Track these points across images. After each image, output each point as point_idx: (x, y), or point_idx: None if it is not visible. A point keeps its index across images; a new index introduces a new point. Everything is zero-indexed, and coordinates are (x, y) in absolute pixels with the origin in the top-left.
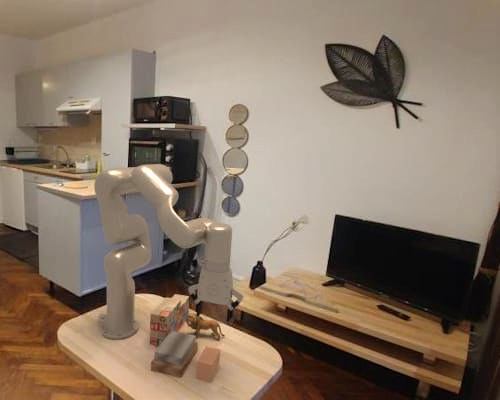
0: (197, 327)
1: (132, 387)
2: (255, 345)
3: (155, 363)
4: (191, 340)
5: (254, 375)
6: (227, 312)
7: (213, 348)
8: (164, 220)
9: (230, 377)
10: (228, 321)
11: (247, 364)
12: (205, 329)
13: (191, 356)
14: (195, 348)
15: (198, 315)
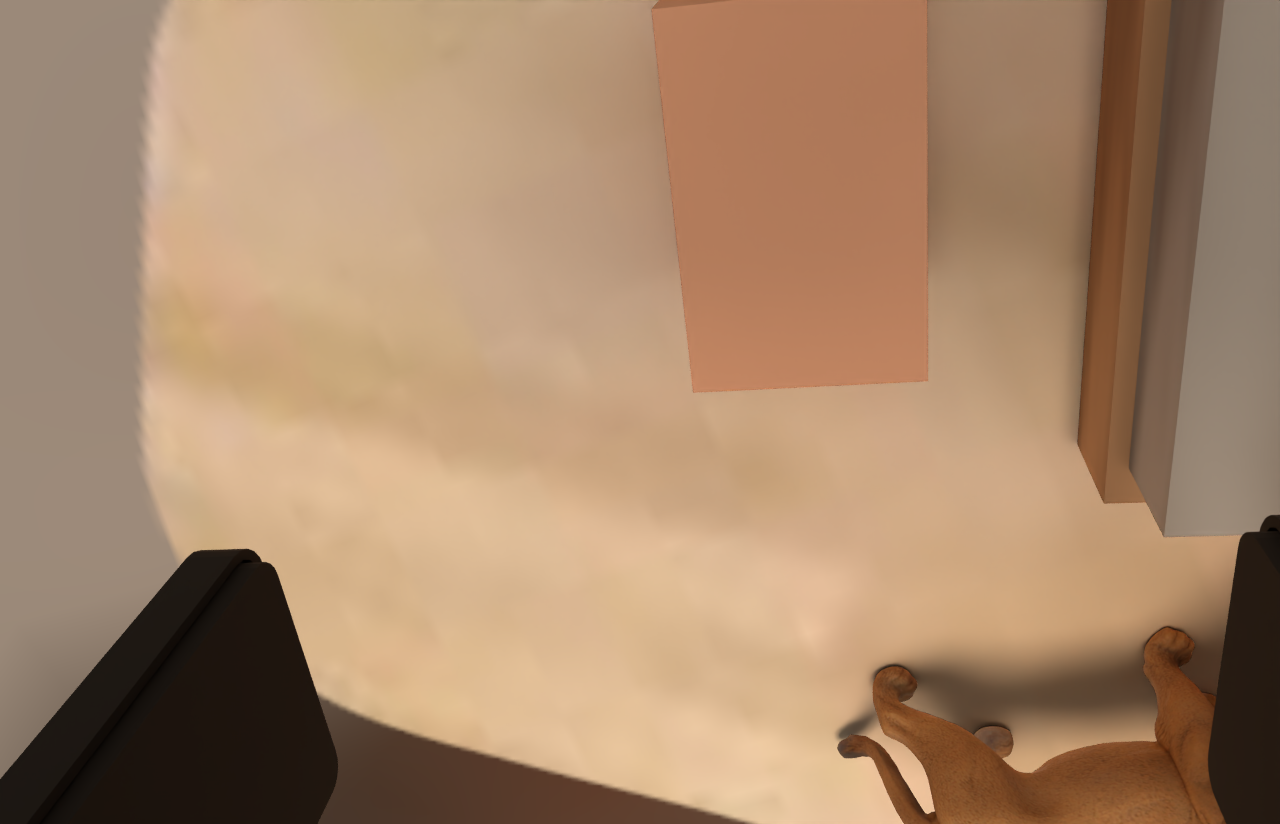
0: (1208, 740)
1: None
2: (478, 709)
3: None
4: (1200, 420)
5: (285, 290)
6: (88, 787)
7: (797, 375)
8: None
9: (505, 154)
10: (197, 559)
11: (427, 422)
12: (1087, 748)
13: (1104, 267)
14: (1100, 410)
15: (1267, 538)
